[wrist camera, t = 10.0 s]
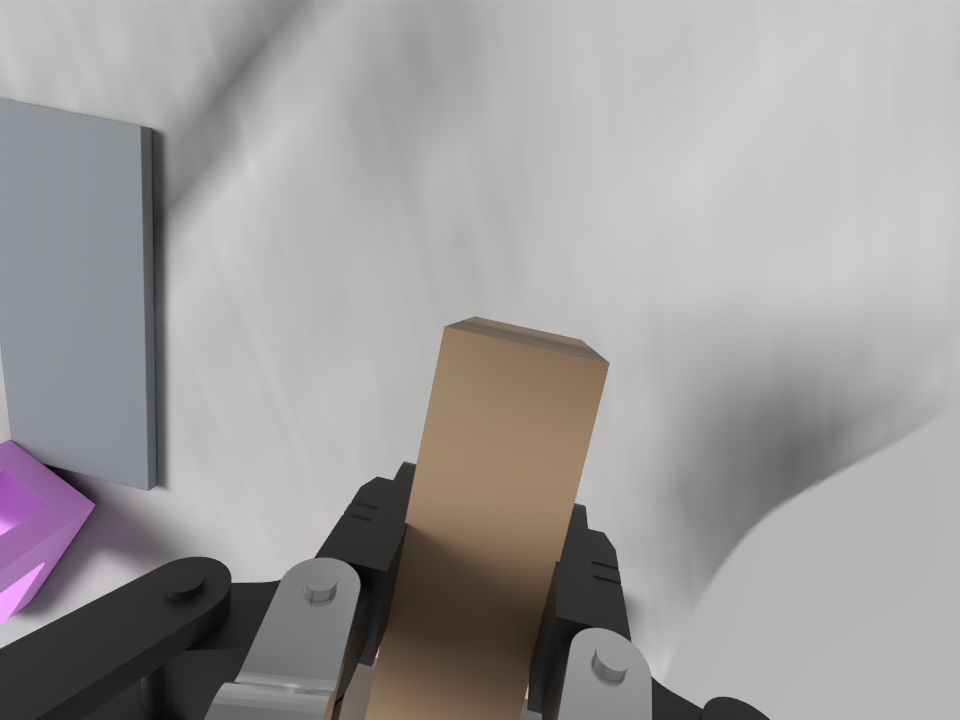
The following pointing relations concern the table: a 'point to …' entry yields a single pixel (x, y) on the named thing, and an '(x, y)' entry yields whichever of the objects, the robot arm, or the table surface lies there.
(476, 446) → the upright plank on base
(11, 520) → the bracket
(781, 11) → the table surface
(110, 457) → the mat
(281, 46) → the table surface
